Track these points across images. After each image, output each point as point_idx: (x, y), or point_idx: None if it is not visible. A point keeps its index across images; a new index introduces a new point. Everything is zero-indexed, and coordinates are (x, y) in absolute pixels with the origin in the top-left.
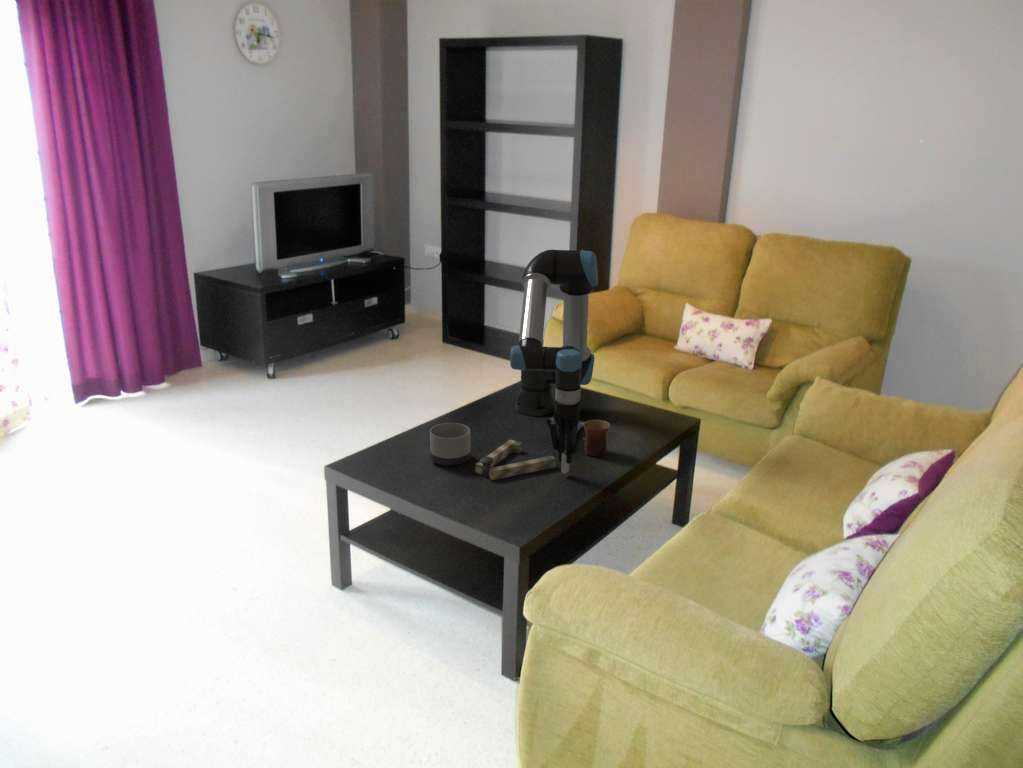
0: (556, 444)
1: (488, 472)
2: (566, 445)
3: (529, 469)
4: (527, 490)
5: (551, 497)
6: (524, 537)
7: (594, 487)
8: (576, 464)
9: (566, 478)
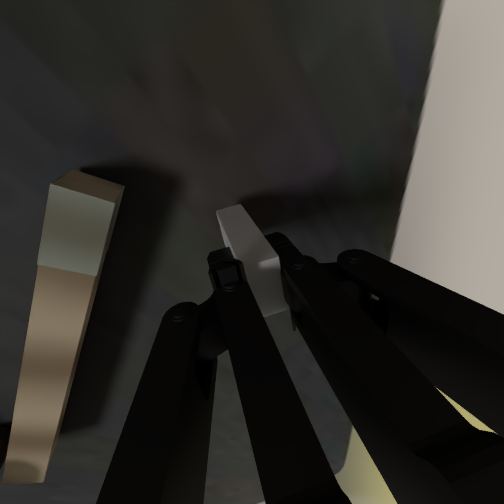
0: (214, 384)
1: (4, 458)
2: (317, 362)
3: (85, 327)
4: None
5: (291, 355)
6: (337, 461)
7: (379, 209)
8: (174, 38)
9: None
